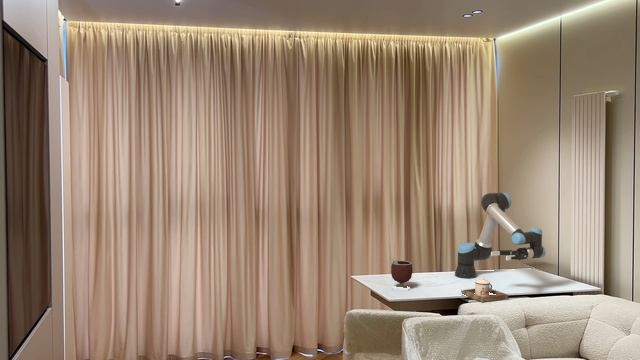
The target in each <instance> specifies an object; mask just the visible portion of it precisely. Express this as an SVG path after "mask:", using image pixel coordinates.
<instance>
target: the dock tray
mask: <svg viewBox="0 0 640 360" xmlns="http://www.w3.org/2000/svg"><path fill="white" fill-rule="evenodd" d="M489 292H490V293H493V294H496V295H489V296H486V297H482V296H479V295H476V294H474V293H475V288H468V289H461V291H460V294H461V293H462V294H464V295H466V296H468V297H467V298H468V299H471V300H474V301H476V302H479V303H481V304H483V303H484V304H485V303H492V302H493V303H494V302H497V301H499V302H500V301H507V300H509V294H508V293H505V292H502V291H499V290H496V289H493V288H492V290H491V291H489Z"/></svg>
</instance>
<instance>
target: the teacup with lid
mask: <svg viewBox="0 0 640 360" xmlns="http://www.w3.org/2000/svg"><path fill="white" fill-rule="evenodd" d="M474 284H475V285H474V289H475V294H476V295H479V296H482V297H486V296H489V291H491V290H492V289H493V285H492V283H491V282H490V281H489V280H487V279H486V278H485V277H483V276H482V277H480V278H479V279H477V280H475V282H474Z"/></svg>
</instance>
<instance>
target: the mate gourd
mask: <svg viewBox="0 0 640 360" xmlns="http://www.w3.org/2000/svg"><path fill="white" fill-rule="evenodd" d="M390 259H392V261H391V267H390V272H391V273H390V275H391V278H392V280H394V282H397V283H398V284H396V285H397V286H396V287H403V288H407V286H408V285H406V286H404V285H405V284H404V283H408V282H409V281H410V280H411V279H412V278H413V277H412V276H413V264H412V262H411V261H408V260H396V258H394V257H393V256H390Z"/></svg>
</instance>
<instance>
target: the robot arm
mask: <svg viewBox="0 0 640 360" xmlns="http://www.w3.org/2000/svg"><path fill="white" fill-rule="evenodd" d="M480 205H481V207H482V210H483V211H484V212H485V213H486V214H487V215H486V219H485V221H484V224H483V227H482V229H481V232H480V235H479V238H477V239H475V242H474V243H473V242H463V243H460V244H458V246H457V266H456V269H455V271H454V276H455V277H456V278H461V279H475V278H477V271H476V267H475V261H476V262H477V261H485V260H489V259H490V258H491V257H497V256H498V257H500V256H505V260H506V261H516V260H518V261H523V260H527V261H528V260H529V259H530V260H531V259H539V258H544V257H545V255H546V249H545V247H544V246H543V230H542V229H541V228H539V227H538V228H537V227H530V229H529V231H526V232H525V231H523V230H522V229H521V228H520V227H519V226H518V225H517V224H516V223H515V222H514V221H513V220H512V219H511V218H510V217H509V216H508V215H507V213H505V212H506V210H508V209H510V207H511V206H512V200H511V196H510V195H509V194H508V192H489V193H488V192H487V193H486V194H484V195H483V196H482V198H481V200H480ZM498 225H500V226H501V228H503V229H504V231H506V232H507V233H508V234H509V235H510V236H511V241H512V243H513V244H514V245H518V246H519V245H520V246H523V245H529V246H527V247H519V248H517V249H516V250H512V249H507V250H505V249H502V250H501V249H496V251H494V249H493V248H494V247H493V244H492V240H493V237H494V235H495V232H496V230H497V227H498Z"/></svg>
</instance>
